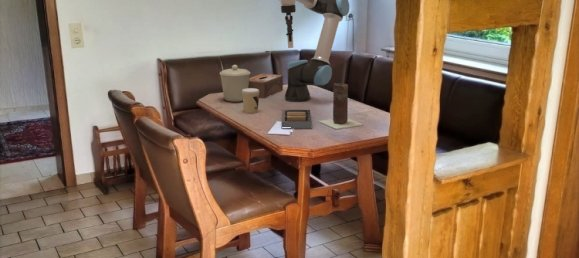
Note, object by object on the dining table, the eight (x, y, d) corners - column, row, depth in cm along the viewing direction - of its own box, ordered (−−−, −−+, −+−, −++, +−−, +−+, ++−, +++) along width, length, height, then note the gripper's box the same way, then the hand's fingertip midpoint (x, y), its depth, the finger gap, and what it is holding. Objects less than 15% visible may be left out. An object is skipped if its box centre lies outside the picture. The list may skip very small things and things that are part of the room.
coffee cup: (257, 114, 301) (256, 92, 297) (240, 113, 302) (239, 91, 299) (261, 109, 309) (261, 88, 306) (245, 109, 311) (244, 87, 308)
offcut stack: (287, 124, 281) (287, 111, 279) (305, 124, 281) (305, 112, 279) (287, 126, 277) (287, 114, 275) (305, 126, 277) (305, 114, 275)
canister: (239, 95, 344) (238, 61, 339) (257, 100, 331) (256, 65, 325) (214, 99, 333) (213, 64, 327) (232, 105, 320) (231, 68, 314)
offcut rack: (282, 116, 296) (282, 109, 295) (309, 116, 296) (310, 109, 295) (281, 128, 273) (281, 121, 272) (311, 128, 273) (311, 121, 272)
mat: (344, 118, 292) (344, 117, 292) (362, 125, 279) (362, 124, 279) (318, 122, 284) (318, 121, 284) (336, 129, 271) (336, 128, 271)
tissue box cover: (264, 98, 336) (263, 82, 334) (243, 96, 342) (242, 80, 340) (282, 90, 359) (282, 75, 356) (262, 88, 365) (262, 73, 362)
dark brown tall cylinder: (331, 120, 285) (332, 81, 280) (345, 120, 286) (347, 81, 280) (334, 124, 278) (335, 85, 272) (348, 124, 278) (350, 84, 273)
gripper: (280, 3, 301) (283, 42, 307) (280, 7, 277) (283, 49, 283) (294, 2, 301) (297, 42, 307) (295, 6, 277) (298, 48, 283)
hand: (290, 45), depth 295 cm, fingers open, 13 cm apart
